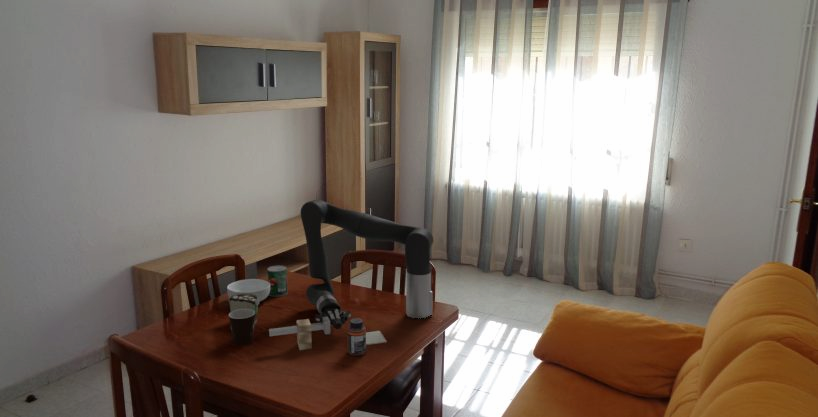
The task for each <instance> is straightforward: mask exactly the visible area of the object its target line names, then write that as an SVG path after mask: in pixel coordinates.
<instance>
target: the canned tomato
mask: <svg viewBox="0 0 818 417" xmlns="http://www.w3.org/2000/svg"><path fill="white" fill-rule="evenodd" d="M287 268H288V267H287V266H285V265H282V264H281V265H270V266H269V267H267V269H266V270H267V281H268V282H269V283H270V293H269V295H268V296H270V297H275V298H276V297H283V296H286V295H287V294H288V293H289V291H288V270H287Z"/></svg>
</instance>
